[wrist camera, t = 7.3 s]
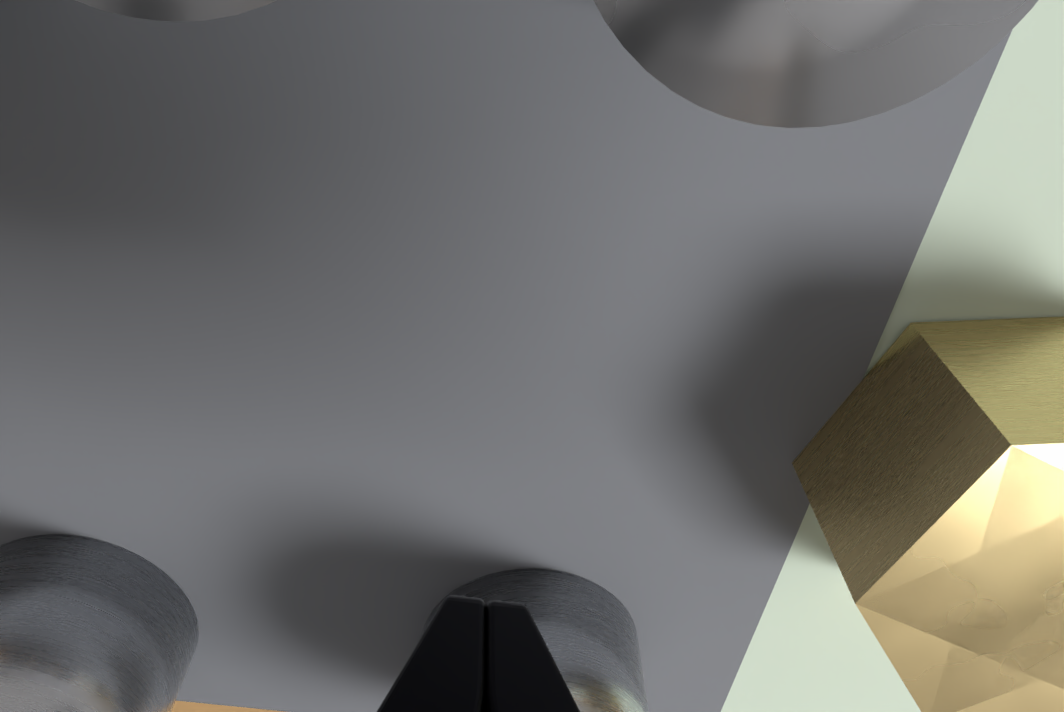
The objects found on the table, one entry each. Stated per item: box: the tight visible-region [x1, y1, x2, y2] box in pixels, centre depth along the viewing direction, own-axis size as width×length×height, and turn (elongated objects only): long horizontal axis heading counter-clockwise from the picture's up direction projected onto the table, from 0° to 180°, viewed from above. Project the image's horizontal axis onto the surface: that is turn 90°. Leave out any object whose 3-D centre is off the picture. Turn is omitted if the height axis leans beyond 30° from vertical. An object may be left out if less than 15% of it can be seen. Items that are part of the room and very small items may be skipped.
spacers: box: [0, 0, 1038, 712], centre depth 11 cm, size 18×14×4 cm
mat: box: [0, 0, 1064, 712], centre depth 13 cm, size 18×21×1 cm
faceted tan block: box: [792, 316, 1064, 712], centre depth 13 cm, size 5×6×3 cm
